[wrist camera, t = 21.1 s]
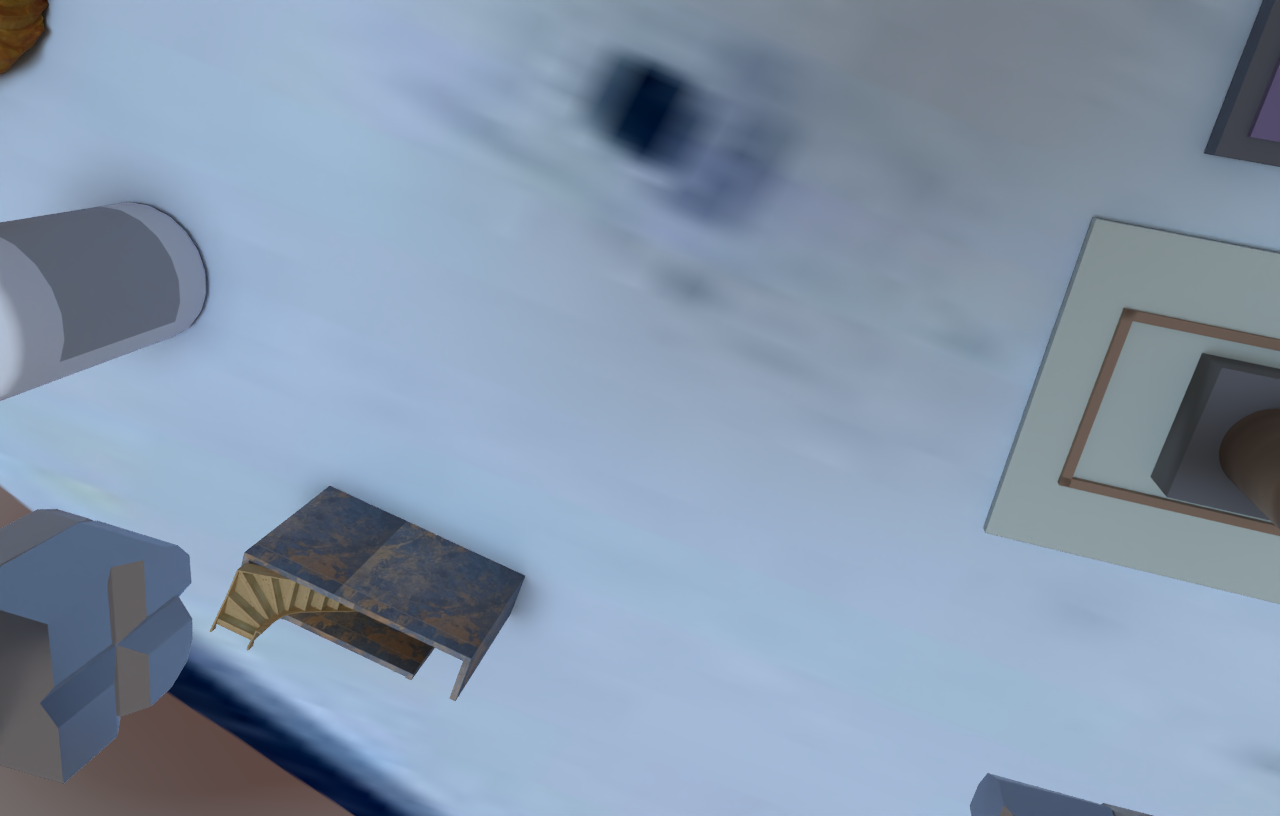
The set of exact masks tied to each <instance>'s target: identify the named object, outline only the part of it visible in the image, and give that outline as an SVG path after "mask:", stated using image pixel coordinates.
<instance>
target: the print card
mask: <svg viewBox="0 0 1280 816" xmlns="http://www.w3.org/2000/svg"><path fill="white" fill-rule="evenodd" d="M1202 353H1205V354H1210V355H1215V356H1220V357H1224V358H1229V359H1234V360H1239V361H1244V362H1249V363H1254V364H1259V365H1264V366H1269V367H1274V368H1278V369H1280V253H1278V252H1272V251H1267V250H1262V249H1257V248H1251V247H1246V246H1241V245H1236V244H1230V243H1225V242H1220V241H1215V240H1209V239H1204V238H1199V237H1194V236H1188V235H1183V234H1178V233H1173V232H1167V231H1162V230H1157V229H1152V228H1146V227H1141V226H1136V225H1131V224H1125V223H1120V222H1115V221H1110V220H1104V219H1099V218H1094V217H1093V218H1092V221H1091V224H1090V227H1089V230H1088V233H1087V235H1086V238H1085V241H1084V244H1083V247H1082V250H1081V252H1080V255H1079V258H1078V261H1077V264H1076V267H1075V270H1074V272H1073V275H1072V278H1071V281H1070V284H1069V287H1068V289H1067V292H1066V295H1065V298H1064V301H1063V304H1062V306H1061V309H1060V312H1059V315H1058V318H1057V321H1056V323H1055V326H1054V329H1053V332H1052V335H1051V338H1050V341H1049V343H1048V346H1047V349H1046V352H1045V355H1044V358H1043V360H1042V363H1041V366H1040V369H1039V372H1038V375H1037V377H1036V380H1035V383H1034V386H1033V389H1032V392H1031V394H1030V397H1029V400H1028V403H1027V406H1026V409H1025V411H1024V414H1023V417H1022V420H1021V423H1020V426H1019V429H1018V431H1017V434H1016V437H1015V440H1014V443H1013V446H1012V448H1011V451H1010V454H1009V457H1008V460H1007V463H1006V465H1005V468H1004V471H1003V474H1002V477H1001V480H1000V482H999V485H998V488H997V491H996V494H995V497H994V500H993V502H992V505H991V508H990V511H989V514H988V517H987V519H986V522H985V525H984V531H985V533H988V534H992V535H996V536H1000V537H1004V538H1008V539H1012V540H1017V541H1021V542H1025V543H1029V544H1033V545H1037V546H1041V547H1046V548H1050V549H1054V550H1058V551H1062V552H1066V553H1070V554H1075V555H1079V556H1083V557H1087V558H1091V559H1095V560H1099V561H1104V562H1108V563H1112V564H1116V565H1120V566H1124V567H1128V568H1132V569H1137V570H1141V571H1145V572H1149V573H1153V574H1157V575H1161V576H1166V577H1170V578H1174V579H1178V580H1182V581H1186V582H1190V583H1195V584H1199V585H1203V586H1207V587H1211V588H1215V589H1219V590H1224V591H1228V592H1232V593H1236V594H1240V595H1244V596H1248V597H1253V598H1257V599H1261V600H1265V601H1269V602H1273V603H1277V604H1280V530H1279V529H1278V528H1277V527H1276V526H1275V525H1274V524H1273V522H1272V521H1270V520H1265V519H1261V518H1257V517H1252V516H1248V515H1243V514H1239V513H1235V512H1230V511H1226V510H1221V509H1217V508H1212V507H1208V506H1204V505H1199V504H1195V503H1190V502H1186V501H1182V500H1177V499H1173V498H1168V497H1166V496H1165V495H1164V493H1163V492H1162V491H1161V490H1160V488H1159V487H1158V486H1157V484H1156V483H1155V482H1154V481H1153V479H1152V478H1151V477H1150V476H1151V474H1152V472H1153V469H1154V467H1155V464H1156V462H1157V460H1158V457H1159V455H1160V452H1161V450H1162V448H1163V445H1164V443H1165V440H1166V438H1167V436H1168V433H1169V431H1170V428H1171V426H1172V424H1173V421H1174V419H1175V417H1176V414H1177V412H1178V409H1179V407H1180V405H1181V402H1182V400H1183V397H1184V395H1185V393H1186V390H1187V388H1188V385H1189V383H1190V381H1191V378H1192V376H1193V373H1194V371H1195V369H1196V366H1197V364H1198V361H1199V359H1200V357H1201V354H1202Z"/></svg>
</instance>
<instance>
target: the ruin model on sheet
mask: <svg viewBox="0 0 1280 816" xmlns="http://www.w3.org/2000/svg"><path fill="white" fill-rule="evenodd" d="M524 578H525V576H524V575H522V574H520V573H518V572H516V571H514V570H511V569H509V568H507V567H505V566H503V565H501V564H498V563H496V562H494V561H492V560H490V559H488V558H485V557H483V556H481V555H479V554H477V553H475V552H472V551H470V550H468V549H466V548H464V547H461V546H459V545H457V544H455V543H453V542H451V541H448V540H446V539H444V538H442V537H440V536H438V535H435V534H433V533H431V532H429V531H427V530H425V529H422V528H420V527H418V526H416V525H414V524H412V523H409V522H407V521H405V520H403V519H401V518H399V517H396V516H394V515H392V514H390V513H388V512H386V511H383V510H381V509H379V508H377V507H375V506H373V505H370V504H368V503H366V502H364V501H362V500H359V499H357V498H355V497H353V496H351V495H349V494H346V493H344V492H342V491H340V490H338V489H336V488H333V487H331V486H329V487H328V488H327V489H325V490H324V491H323V492H321V493H320V494H319V495H318V496H316V497H315V498H314V499H312V500H311V501H310V502H309V503H307V504H306V505H305V506H303V507H302V508H301V509H300V510H298V511H297V512H296V513H294V514H293V515H292V516H291V517H289V518H288V519H287V520H285V521H284V522H283V523H282V524H280V525H279V526H278V527H276V528H275V529H274V530H273V531H271V532H270V533H269V534H267V535H266V536H265V537H264V538H262V539H261V540H260V541H258V542H257V543H256V544H255V545H253V546H252V547H251V548H249V549H248V550H247V551H246V552H244V557H243V561H242V566H241V567H240V568H239V569H238V570H237V572H236V575H235V577H234V579H233V582H232V584H231V586H230V589H229V591H228V593H227V596H226V598H225V600H224V602H223V604H222V606H221V608H220V610H219V613H218V615H217V617H216V619H215V621H214V623H213V625H212V628H211V630H210V632H212V631H213V630H214V629H215V628H216V624H218V625H220V626H222V627H225V628H227V629H229V630H231V631H233V632H235V633H237V634H239V635H241V636H243V637H246V638H248V639H250V640H251V641H250V643H249V645H248V647H247V650H249V649H250V648H251V647H252V646H253V643H254V640H255V639H256V638H257V637H258V636H259V635H260V634H262V633H263V632H264V631H265V630H266V629H267V628H268V627H269V626H270V625H271V624H272V623H274V622H275V621H276V620H278V619H280V618H281V619H285V620H287V621H289V622H291V623H294V624H296V625H298V626H300V627H302V628H304V629H306V630H308V631H310V632H313V633H315V634H317V635H319V636H321V637H323V638H325V639H327V640H329V641H332V642H334V643H336V644H338V645H340V646H342V647H344V648H346V649H348V650H351V651H353V652H355V653H357V654H359V655H361V656H363V657H365V658H368V659H370V660H372V661H374V662H376V663H378V664H380V665H382V666H384V667H387V668H389V669H391V670H393V671H395V672H397V673H399V674H401V675H403V676H406V677H405V678H407V679H410V680H412V678H413V677H414V676H415V674H416V673H417V672H418V670H419V669H420V667H421V666H422V665H423V663H424V662H425V661H426V659H427V658H428V656H429V655H430V654H431V652H432V651H433V650H434V648H437V649H439V650H441V651H443V652H445V653H448V654H450V655H452V656H454V657H456V658H458V659H460V660H462V661H463V663H462V666H461V669H460V671H459V674H458V677H457V679H456V682H455V685H454V688H453V690H452V693H451V696H450V699H452V700H454V701H456V699H457V698H458V696H459V695H460V693H461V691H462V690H463V688H464V687H465V685H466V684H467V682H468V680H469V679H470V677H471V676H472V674H473V672H474V671H475V669H476V668H477V666H478V665H479V663H480V661H481V660H482V658H483V657H484V655H485V653H486V652H487V650H488V649H489V647H490V645H491V644H492V642H493V641H494V639H495V638H496V636H497V634H498V633H499V631H500V630H501V628H502V626H503V625H504V623H505V622H506V620H507V619H508V617H509V615H510V614H511V611H512V608H513V606H514V603H515V601H516V598H517V596H518V593H519V590H520V588H521V585H522V583H523V580H524Z"/></svg>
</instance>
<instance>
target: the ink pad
mask: <svg viewBox="0 0 1280 816" xmlns="http://www.w3.org/2000/svg"><path fill="white" fill-rule="evenodd" d="M1204 153H1205V154H1211V155H1217V156H1222V157H1228V158H1233V159H1239V160H1245V161H1250V162H1256V163H1262V164H1267V165H1273V166H1278V167H1280V0H1263V3H1262V5H1261V8H1260V10H1259V13H1258V16H1257V18H1256V21H1255V23H1254V26H1253V29H1252V31H1251V34H1250V36H1249V39H1248V41H1247V44H1246V47H1245V49H1244V52H1243V54H1242V57H1241V59H1240V62H1239V65H1238V67H1237V70H1236V72H1235V75H1234V77H1233V80H1232V83H1231V85H1230V88H1229V90H1228V93H1227V96H1226V98H1225V101H1224V103H1223V106H1222V108H1221V111H1220V114H1219V116H1218V119H1217V121H1216V124H1215V126H1214V129H1213V132H1212V134H1211V137H1210V139H1209V142H1208V144H1207V147H1206V150H1205V152H1204Z"/></svg>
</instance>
